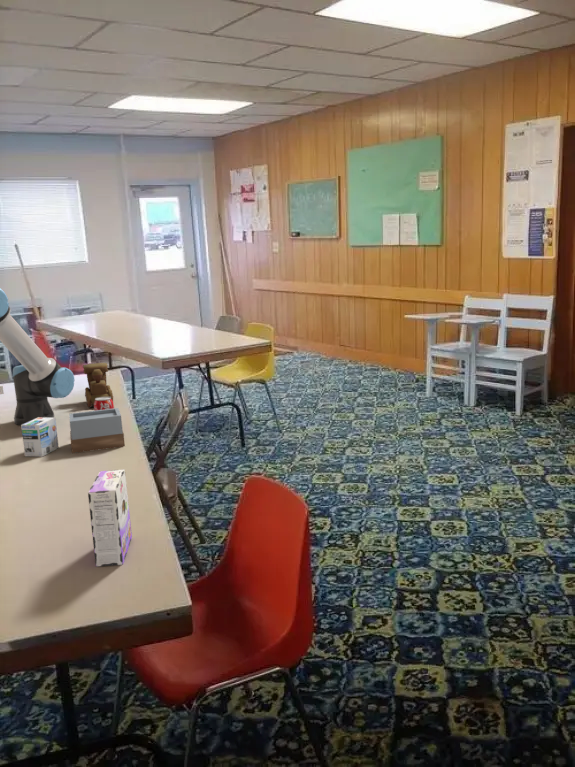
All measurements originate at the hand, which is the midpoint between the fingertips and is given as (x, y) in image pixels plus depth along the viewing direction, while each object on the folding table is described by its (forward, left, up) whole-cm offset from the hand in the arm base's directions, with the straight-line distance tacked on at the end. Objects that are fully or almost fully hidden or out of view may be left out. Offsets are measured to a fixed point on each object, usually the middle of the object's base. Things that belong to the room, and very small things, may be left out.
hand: (1, 393), depth 223 cm
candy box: (+92, +27, -21) cm, 98 cm away
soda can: (-20, +32, -21) cm, 44 cm away
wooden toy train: (-70, +32, -21) cm, 80 cm away
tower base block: (0, +28, -22) cm, 35 cm away
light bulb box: (0, +10, -21) cm, 24 cm away
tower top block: (0, +28, -17) cm, 33 cm away
